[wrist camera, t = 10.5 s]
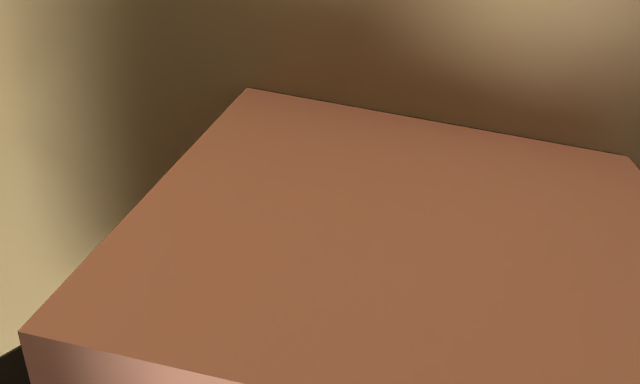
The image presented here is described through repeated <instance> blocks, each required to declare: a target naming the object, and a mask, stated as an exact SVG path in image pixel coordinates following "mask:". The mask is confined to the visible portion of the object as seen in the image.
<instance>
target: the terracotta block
mask: <svg viewBox="0 0 640 384" xmlns="http://www.w3.org/2000/svg"><path fill="white" fill-rule="evenodd" d="M18 335H19V339H20V343H21V347H22V351H23V355H24V359H25V363H26V367H27V371H28V375H29V379H30V383H31V384H640V170H639V169H638V168H637V167H636V165H635V164H634V163H633V162H632V161H631V159H630V158H629V157H628V156H623V155H617V154H612V153H606V152H601V151H595V150H589V149H584V148H578V147H573V146H567V145H562V144H556V143H551V142H545V141H540V140H534V139H529V138H523V137H517V136H512V135H506V134H501V133H495V132H490V131H484V130H479V129H473V128H468V127H462V126H457V125H451V124H446V123H440V122H434V121H429V120H423V119H418V118H412V117H407V116H401V115H396V114H390V113H385V112H379V111H374V110H368V109H363V108H357V107H351V106H346V105H340V104H335V103H329V102H324V101H318V100H313V99H307V98H302V97H296V96H291V95H285V94H279V93H274V92H268V91H263V90H257V89H252V88H246V89H245V90H244V91H243V92H242V93H241V94H240V95H239V96H238V97H237V98H236V100H235V101H234V102H233V103H232V104H231V105H230V106H229V107H228V108H227V109H226V110H225V111H224V112H223V113H222V114H221V116H220V117H219V118H218V119H217V120H216V121H215V122H214V123H213V124H212V125H211V126H210V127H209V128H208V129H207V130H206V131H205V133H204V134H203V135H202V136H201V137H200V138H199V139H198V140H197V141H196V142H195V143H194V144H193V145H192V146H191V147H190V148H189V150H188V151H187V152H186V153H185V154H184V155H183V156H182V157H181V158H180V159H179V160H178V161H177V162H176V163H175V164H174V166H173V167H172V168H171V169H170V170H169V171H168V172H167V173H166V174H165V175H164V176H163V177H162V178H161V179H160V180H159V181H158V183H157V184H156V185H155V186H154V187H153V188H152V189H151V190H150V191H149V192H148V193H147V194H146V195H145V196H144V197H143V199H142V200H141V201H140V202H139V203H138V204H137V205H136V206H135V207H134V208H133V209H132V210H131V211H130V212H129V213H128V214H127V216H126V217H125V218H124V219H123V220H122V221H121V222H120V223H119V224H118V225H117V226H116V227H115V228H114V229H113V230H112V231H111V233H110V234H109V235H108V236H107V237H106V238H105V239H104V240H103V241H102V242H101V243H100V244H99V245H98V246H97V247H96V249H95V250H94V251H93V252H92V253H91V254H90V255H89V256H88V257H87V258H86V259H85V260H84V261H83V262H82V263H81V264H80V266H79V267H78V268H77V269H76V270H75V271H74V272H73V273H72V274H71V275H70V276H69V277H68V278H67V279H66V280H65V281H64V283H63V284H62V285H61V286H60V287H59V288H58V289H57V290H56V291H55V292H54V293H53V294H52V295H51V296H50V297H49V299H48V300H47V301H46V302H45V303H44V304H43V305H42V306H41V307H40V308H39V309H38V310H37V311H36V312H35V313H34V314H33V316H32V317H31V318H30V319H29V320H28V321H27V322H26V323H25V324H24V325H23V326H22V327H21V328H20V329H19V330H18Z"/></svg>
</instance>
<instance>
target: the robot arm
mask: <svg viewBox="0 0 640 384" xmlns="http://www.w3.org/2000/svg"><path fill="white" fill-rule="evenodd" d="M0 384H31V383H30V379H29V375H28V371H27V367H26V363H25V359H24V355H23V351H22V347H21V345H20V346H18V347H16V348H14V349H13V350H11V351H9V352H7V353H6V354H4V355H2V356H0Z"/></svg>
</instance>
